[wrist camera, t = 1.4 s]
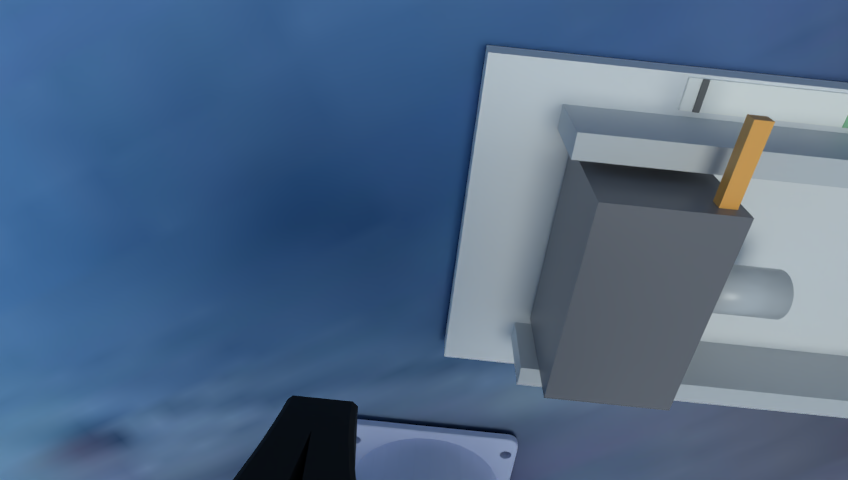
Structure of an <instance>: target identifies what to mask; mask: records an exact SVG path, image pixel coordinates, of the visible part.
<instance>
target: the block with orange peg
mask: <svg viewBox="0 0 848 480" xmlns="http://www.w3.org/2000/svg"><path fill="white" fill-rule="evenodd" d="M774 123H775V121H773V120H772V119H770V118H769V117H768V116H759V115H749V114H747V116H746V118H745V121H744V124H743V126H742V129H741V131H740V134H739V136H738V139H737V141H736V144H735V146H734V149H733V151H732V154H731V157H730V159H729V162H728V164H727V167H726V169H725V172H724V174H723V177H722V179H721V182H720V181H719V180H718V179H717V178H716V177H715V176H714V175H713V174H704V173H695V172H685V171H675V170H666V169H656V168H646V167H637V166H627V165H617V164H608V163H598V162H588V161H579V160H571V159H570V156H569V157H568V161H567V165H566V169H565V174H564V178H563V182H562V186H561V190H560V195H559V199H558V203H557V207H556V212H555V216H554V220H553V224H552V228H551V233H550V237H549V241H548V245H547V250H546V254H545V258H544V262H543V266H542V271H541V275H540V279H539V283H538V288H537V292H536V296H535V300H534V304H533V309H532V313H531V317H530V321H531V326H532V332H533V338H534V343H535V349H536V355H537V360H538V366H539V372H540V377H541V383H542V389H543V394H544V398H552V399H562V400H571V401H581V402H591V403H601V404H611V405H620V406H630V407H640V408H650V409H660V410H669V409H670V407H671V405H672V403H673V400H674V398H675V396H676V394H677V391H678V389H679V387H680V385H681V382H682V380H683V378H684V376H685V373H686V371H687V369H688V367H689V364H690V362H691V360H692V358H693V355H694V353H695V351H696V349H697V346H698V344H699V342H700V340H701V337H702V335H703V333H704V331H705V328H706V326H707V324H708V321H709V319H710V317H711V315H712V313H717V314H726V315H736V316H746V317H756V318H765V319H775V320H778V319H781V318H783V317H785V316H786V315H787V313H788V312H789V310H790V308H791V306H792V303H793V297H794V288H793V283H792V280H791V278H790V276H789V275H788V273H787V272H785V271H784V270H781V269H773V268H763V267H754V266H744V265H734V263H735V261H736V258H737V256H738V254H739V252H740V249H741V247H742V245H743V243H744V240H745V238H746V236H747V233H748V231H749V229H750V227H751V224H752V222H753V220H754V218H753V216H752V215H751V214H750V213H749V212H748V211H747V210H746V209H745V208H744V207H743V206H742V205H741V201H742V199H743V197H744V194H745V192H746V190H747V187H748V185H749V182H750V180H751V178H752V175H753V173H754V171H755V168H756V166H757V164H758V161H759V159H760V156H761V154H762V152H763V149H764V147H765V145H766V142H767V140H768V138H769V135H770V133H771V130H772V128H773V126H774Z"/></svg>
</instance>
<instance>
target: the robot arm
mask: <svg viewBox="0 0 848 480" xmlns="http://www.w3.org/2000/svg"><path fill="white" fill-rule="evenodd" d="M357 413H358V406H357V405H356V404H355V403H354V402H351V401H341V400H331V399H322V398H312V397H302V396H292V397H290V398H289V399H288V400H287V401H286V403H285V405H284V407H283V408H282V410H281V412H280V413H279V415H278V417H277V418H276V420H275V421H274V423H273V424H272V426H271V427H270V429H269V431H268V432H267V434H266V435H265V436H264V438H263V439H262V441H261V442H260V444H259V445H258V447H257V448H256V449H255V451H254V452H253V454H252V455H251V456H250V458H249V459H248V460H247V462H246V463H245V464H244V466H243V467H242V468H241V470H240V471H239V472H238V474H237V475H236V476H235V478H234V479H233V480H510V476H511V473H512V469H513V465H514V461H515V457H516V454H517V450H518V442H517V439H516V437H514V436H513V435H509V434H500V433H490V432H481V431H471V430H461V429H451V428H441V427H431V426H421V425H412V424H402V423H392V422H382V421H372V420H362V419H357ZM503 451H507V452H503Z"/></svg>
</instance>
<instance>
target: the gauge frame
mask: <svg viewBox="0 0 848 480" xmlns="http://www.w3.org/2000/svg"><path fill="white" fill-rule="evenodd" d="M747 114H749V115H759V116H768V117H769V118H770V119H772V120H773V121H775V123H774V126H773V128H772V130H771V133H770V135H769V138H768V140H767V142H766V145H765V147H764V149H763V152H762V154H761V156H760V159H759V161H758V164H757V166H756V168H755V171H754V173H753V175H752V178H751V180H750V182H749V185H748V187H747V190H746V192H745V194H744V197H743V199H742V201H741V205H742V206H743V207H744V208H745V209H746V210H747V211H748V212H749V213H750V214H751V215H752V216H753V218H754V220H753V222H752V224H751V227H750V229H749V231H748V233H747V236H746V238H745V240H744V243H743V245H742V247H741V249H740V252H739V254H738V256H737V258H736V261H735V263H734V265H744V266H754V267H763V268H773V269H781V270H784V271H785V272H787V273H788V275H789V276H790V278H791V280H792V283H793V288H794V297H793V303H792V306H791V308H790V310H789V312H788V313H787V315H786V316H785V317H783V318H781V319H778V320H775V319H765V318H756V317H746V316H736V315H726V314H717V313H712V315H711V317H710V319H709V321H708V324H707V326H706V328H705V331H704V333H703V335H702V337H701V340H700V342H699V344H698V346H697V349H696V351H695V353H694V355H693V358H692V360H691V362H690V364H689V367H688V369H687V371H686V373H685V376H684V378H683V380H682V382H681V385H680V387H679V389H678V391H677V394H676V396H675V398H674V401H684V402H694V403H703V404H713V405H723V406H733V407H743V408H752V409H762V410H772V411H782V412H792V413H802V414H811V415H821V416H831V417H841V418H848V83H847V82H837V81H828V80H818V79H809V78H799V77H789V76H780V75H770V74H761V73H751V72H741V71H732V70H722V69H713V68H703V67H694V66H684V65H674V64H665V63H655V62H646V61H636V60H626V59H617V58H607V57H598V56H588V55H579V54H569V53H559V52H550V51H540V50H531V49H521V48H512V47H502V46H492V45H486V53H485V60H484V67H483V74H482V81H481V88H480V95H479V102H478V109H477V116H476V123H475V130H474V137H473V144H472V151H471V158H470V165H469V172H468V179H467V186H466V193H465V200H464V207H463V214H462V221H461V228H460V235H459V242H458V249H457V257H456V264H455V271H454V278H453V285H452V292H451V299H450V306H449V313H448V320H447V327H446V334H445V345H444V356H445V357H454V358H464V359H474V360H484V361H494V362H503V363H513V364H515V372H516V380H517V385H527V386H536V387H542V383H541V377H540V372H539V366H538V360H537V355H536V349H535V343H534V338H533V332H532V326H531V321H530V317H531V313H532V309H533V304H534V300H535V296H536V292H537V288H538V283H539V279H540V275H541V271H542V266H543V262H544V258H545V254H546V250H547V245H548V241H549V237H550V233H551V228H552V224H553V220H554V216H555V212H556V207H557V203H558V199H559V195H560V190H561V186H562V182H563V178H564V174H565V169H566V165H567V161H568V157H569V156H570V159H571V160H579V161H588V162H598V163H608V164H617V165H627V166H637V167H646V168H656V169H666V170H675V171H685V172H695V173H704V174H713V175H714V176H715V177H716V178H717V179H718V180H719V181H720V182H721V179H722V177H723V174H724V172H725V169H726V167H727V164H728V162H729V159H730V157H731V154H732V151H733V149H734V146H735V144H736V141H737V139H738V136H739V134H740V131H741V129H742V126H743V124H744V121H745V118H746V116H747Z"/></svg>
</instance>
